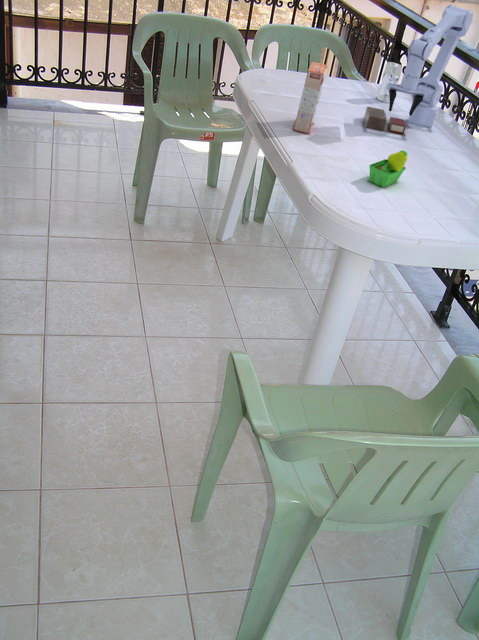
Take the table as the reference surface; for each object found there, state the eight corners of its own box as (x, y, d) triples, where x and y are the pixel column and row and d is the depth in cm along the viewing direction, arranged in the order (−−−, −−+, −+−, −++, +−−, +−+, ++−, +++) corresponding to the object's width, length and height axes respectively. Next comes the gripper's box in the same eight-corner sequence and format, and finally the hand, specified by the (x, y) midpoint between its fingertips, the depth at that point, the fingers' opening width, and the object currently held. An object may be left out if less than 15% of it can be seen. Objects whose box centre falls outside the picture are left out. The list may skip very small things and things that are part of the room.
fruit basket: (381, 173, 218) (391, 139, 211) (405, 184, 214) (417, 149, 207) (363, 180, 210) (374, 145, 203) (388, 191, 206) (400, 156, 199)
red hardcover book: (400, 127, 258) (403, 119, 257) (403, 134, 252) (405, 126, 250) (388, 124, 258) (390, 116, 257) (390, 131, 252) (392, 123, 250)
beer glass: (373, 97, 293) (383, 61, 285) (385, 97, 296) (396, 62, 288) (382, 102, 288) (393, 66, 280) (395, 103, 292) (406, 67, 283)
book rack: (400, 129, 261) (405, 114, 258) (404, 140, 251) (409, 124, 248) (362, 121, 261) (367, 106, 257) (364, 131, 251) (369, 115, 247)
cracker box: (309, 134, 236) (324, 73, 225) (292, 130, 237) (306, 69, 225) (313, 123, 248) (328, 64, 236) (297, 119, 248) (311, 60, 237)
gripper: (393, 74, 241) (381, 111, 248) (433, 82, 241) (420, 120, 249) (391, 69, 247) (380, 106, 254) (430, 77, 247) (418, 114, 255)
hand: (400, 112), depth 252 cm, fingers open, 7 cm apart
